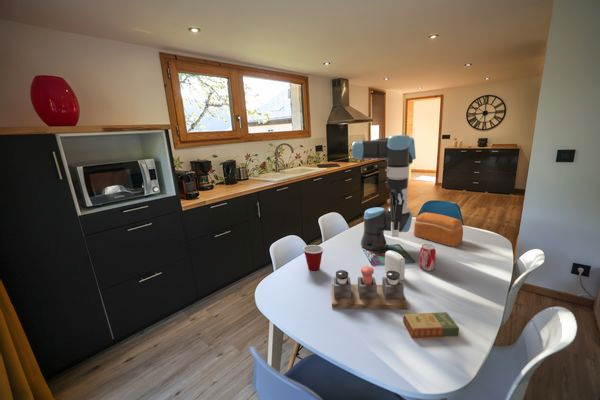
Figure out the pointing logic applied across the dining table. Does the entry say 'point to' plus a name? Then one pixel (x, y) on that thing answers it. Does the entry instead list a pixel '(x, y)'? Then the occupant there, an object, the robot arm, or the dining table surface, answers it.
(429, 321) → the carton
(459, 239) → the bread
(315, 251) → the plastic cup
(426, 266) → the soda can
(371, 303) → the socket board
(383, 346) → the dining table surface
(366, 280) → the red plug
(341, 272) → the grey plug
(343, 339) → the dining table surface
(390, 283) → the grey plug
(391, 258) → the photo printer
